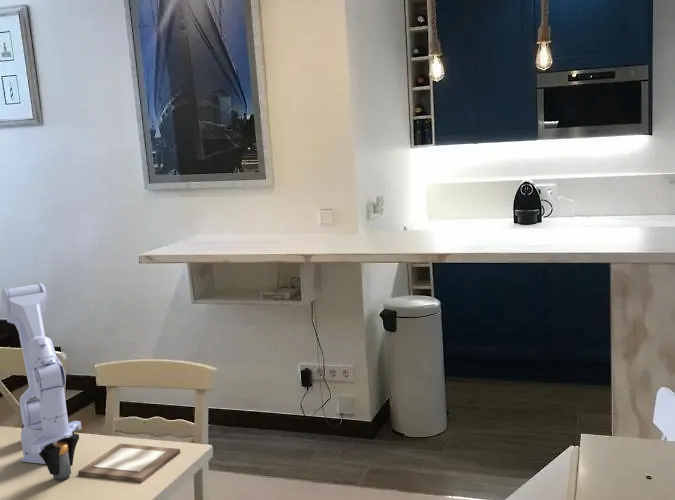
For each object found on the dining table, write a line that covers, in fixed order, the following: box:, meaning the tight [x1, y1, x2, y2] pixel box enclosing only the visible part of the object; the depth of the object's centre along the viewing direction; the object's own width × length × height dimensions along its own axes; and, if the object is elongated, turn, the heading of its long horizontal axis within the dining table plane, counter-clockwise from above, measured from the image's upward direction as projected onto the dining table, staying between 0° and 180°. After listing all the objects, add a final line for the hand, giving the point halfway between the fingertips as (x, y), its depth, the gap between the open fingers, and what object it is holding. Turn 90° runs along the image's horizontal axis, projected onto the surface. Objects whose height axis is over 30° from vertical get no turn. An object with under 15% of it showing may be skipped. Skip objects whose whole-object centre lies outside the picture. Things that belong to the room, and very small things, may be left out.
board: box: [77, 443, 181, 483], centre depth 175 cm, size 18×16×1 cm
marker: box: [52, 442, 72, 482], centre depth 170 cm, size 4×4×8 cm
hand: (61, 469), depth 170 cm, fingers closed on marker, 4 cm apart
